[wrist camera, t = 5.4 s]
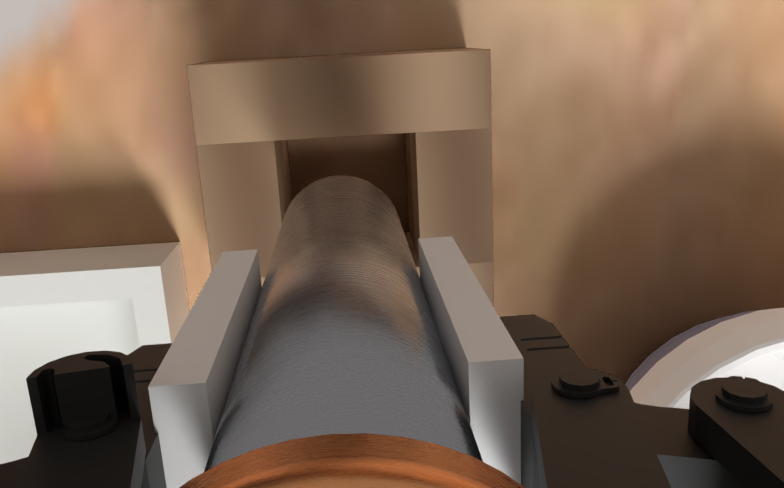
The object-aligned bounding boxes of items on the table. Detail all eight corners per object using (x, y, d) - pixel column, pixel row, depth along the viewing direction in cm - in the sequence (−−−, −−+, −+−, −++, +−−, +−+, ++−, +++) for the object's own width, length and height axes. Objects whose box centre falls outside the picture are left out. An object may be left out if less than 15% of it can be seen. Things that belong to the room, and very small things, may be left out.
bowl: (733, 195, 32) (850, 242, 24) (916, 403, 35) (1068, 499, 28) (490, 418, 34) (530, 522, 26) (684, 593, 37) (767, 729, 30)
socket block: (240, 301, 31) (221, 348, 27) (213, 61, 29) (186, 65, 24) (471, 285, 32) (493, 329, 27) (466, 47, 29) (490, 49, 24)
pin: (269, 313, 23) (91, 1008, 6) (254, 160, 21) (-18, 536, 5) (423, 302, 23) (632, 943, 7) (416, 150, 22) (656, 477, 5)
